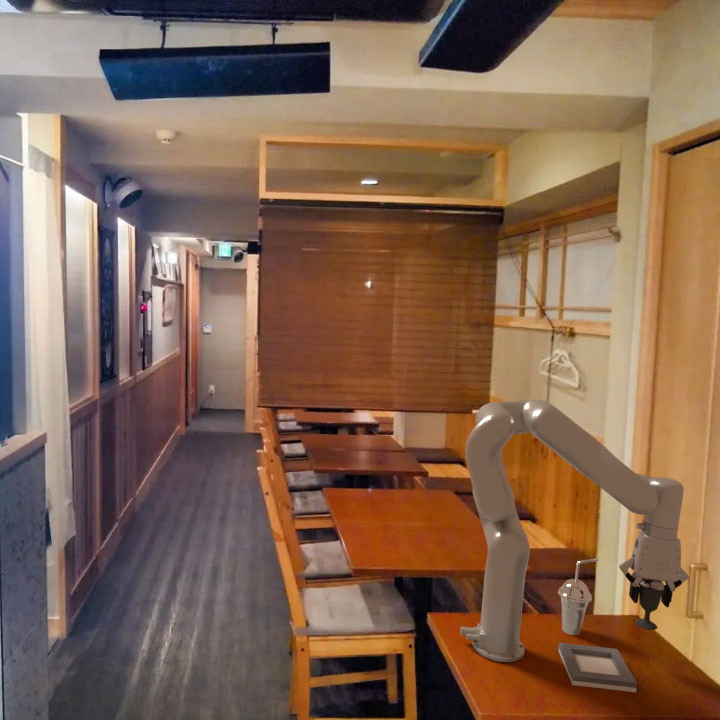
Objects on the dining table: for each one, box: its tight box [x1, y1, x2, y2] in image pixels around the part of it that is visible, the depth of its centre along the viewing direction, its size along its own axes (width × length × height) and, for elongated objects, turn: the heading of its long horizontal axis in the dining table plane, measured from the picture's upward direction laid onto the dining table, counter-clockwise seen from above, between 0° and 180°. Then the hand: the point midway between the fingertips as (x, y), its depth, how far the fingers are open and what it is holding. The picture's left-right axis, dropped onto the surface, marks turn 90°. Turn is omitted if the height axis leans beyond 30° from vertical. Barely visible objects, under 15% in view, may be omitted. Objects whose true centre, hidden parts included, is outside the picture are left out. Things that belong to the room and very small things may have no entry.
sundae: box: [634, 578, 667, 631], centre depth 151 cm, size 7×7×15 cm
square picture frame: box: [557, 642, 638, 693], centre depth 149 cm, size 14×14×2 cm
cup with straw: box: [557, 558, 599, 636], centre depth 166 cm, size 8×9×20 cm
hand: (649, 601), depth 151 cm, fingers closed on sundae, 6 cm apart
